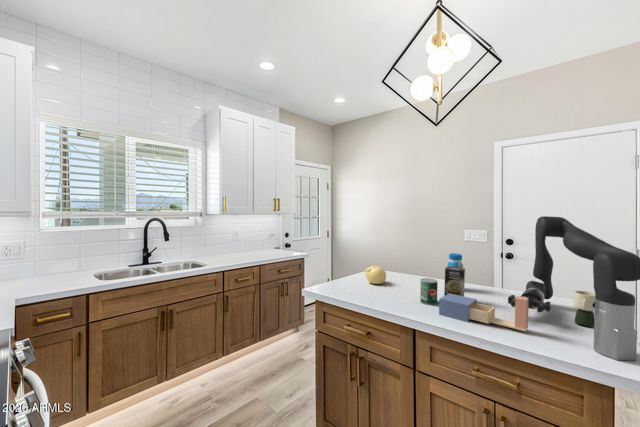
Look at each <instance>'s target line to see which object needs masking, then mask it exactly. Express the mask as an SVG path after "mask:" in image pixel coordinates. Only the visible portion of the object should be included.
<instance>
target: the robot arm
mask: <svg viewBox="0 0 640 427" xmlns="http://www.w3.org/2000/svg"><path fill="white" fill-rule="evenodd" d="M534 235H535V239H534V241H535V242H534V243H535V246H534V248H535V258H534V265H533V270H532V271H533V272H532V276H533V277H534V278H535V279H537V280H540V281H541V282H539V281H535V280H529V281H528V282H527V283H526V285H525V290H524V292H523V293H522V294H521V296H520V297H526V298H529V301H528V309H531V310H537V311H536V313H538V314H539V313H541V312H544V311H545V312H546V313H547V312H550V311H551V301H545V300H550V299H552V297H553V296H554V288H553V283H552V275H553V269H554V259H553V258H552V256H551V254H550V252H549V250H548V247H547V245H546V238H547V237H549V238H562V244H563V246H564V247H565V248H566V249H567V250H568V251H570V252H571V253H572V254H574V255H576V256H577V257H580V258H582V259H586V260H589V261H592V272H593V273H592V274H593V276H592V277H593V290H594V293H595V311H594V327H593V346H592V347H593V350H594V351H595V352H597V353H598V354H600V355H603V356H604V357H605V356H606V357H608V358H611V359H613V360H615V361H637V348H638V347H637V346H638V330H637V329H635V314H636V313H635V312H636V311H635V310H636V297H635V295H634V294H632V293H631V292H630V293H629V292H627V291H625V290H622V289H620V288H618V286H617V282H636V281H640V257H639V256H638V255H637V254H635V253H633V252H631V251H628V250H625V249H622V248H620V247H617V246H615V245H612V244H610V243H608V242H606V241H605V240H603V239H601V238H598V237H597V236H595V235H593V234H592V233H589V232H587V231H585V230H584V229H581V228H579V227H578V226H576V225H574V224H573V223H572V222H570V221H569V220H567V218H564V217H562V216H545V215H544V216H540V217H538V218H537V220H536V223H535V234H534ZM516 297H517V296H516V295H514V294H511V295H510V296H508V297H507V304H509V305H510V306H511V307H512V308H515V298H516ZM544 301H545V302H544Z"/></svg>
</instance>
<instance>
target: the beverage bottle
mask: <svg viewBox="0 0 640 427" xmlns="http://www.w3.org/2000/svg"><path fill="white" fill-rule="evenodd" d="M448 260H449V261H448V263H447V266H446V267H454V268H463V269H464V265H463V263H462V261H463V255H462V254H461V253H453V252H452V253H451V252H450V253H449V255H448Z"/></svg>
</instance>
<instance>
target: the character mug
mask: <svg viewBox="0 0 640 427" xmlns="http://www.w3.org/2000/svg"><path fill="white" fill-rule="evenodd" d="M573 307H574V308H576V310H575V311H576V312H575V317H574V322H575V323H576V324H580V325H582V326H584V327H585V326H586V327H589V328H590V327H591V328H594V318H595V292H591V291H586V290H575V291H573Z"/></svg>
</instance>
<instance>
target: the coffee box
mask: <svg viewBox="0 0 640 427" xmlns="http://www.w3.org/2000/svg"><path fill="white" fill-rule="evenodd" d="M465 271H466V268H464V267H463V268H454V267H448V266H445V268H444V290H443V291H444V293H443V294H444V296H445V295H447V294H449V293H450V294H455V295H460V296H464V297H465V280H466V279H465V276H466V272H465Z"/></svg>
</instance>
